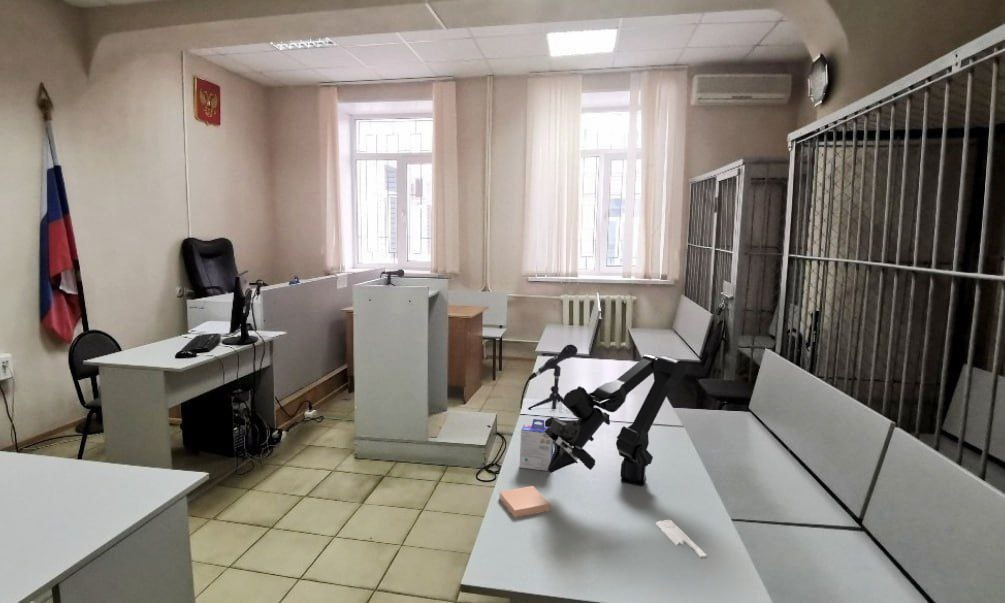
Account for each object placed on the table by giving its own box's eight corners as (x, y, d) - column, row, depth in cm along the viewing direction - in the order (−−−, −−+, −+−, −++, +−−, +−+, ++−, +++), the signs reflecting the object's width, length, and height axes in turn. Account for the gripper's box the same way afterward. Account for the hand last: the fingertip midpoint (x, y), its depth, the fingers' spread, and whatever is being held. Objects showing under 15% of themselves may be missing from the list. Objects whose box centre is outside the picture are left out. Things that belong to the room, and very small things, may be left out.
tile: (532, 485, 146) (499, 491, 142) (549, 503, 137) (514, 510, 133) (532, 494, 147) (499, 500, 143) (549, 512, 138) (514, 519, 134)
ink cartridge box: (553, 464, 165) (555, 419, 163) (551, 472, 159) (553, 426, 158) (522, 460, 167) (523, 416, 165) (519, 468, 161) (520, 422, 159)
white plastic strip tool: (686, 561, 119) (686, 556, 119) (652, 525, 133) (653, 521, 133) (706, 558, 120) (706, 553, 120) (671, 522, 134) (671, 518, 134)
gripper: (551, 398, 150) (515, 441, 147) (587, 421, 133) (547, 470, 130) (574, 421, 154) (540, 463, 152) (611, 446, 137) (573, 493, 135)
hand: (549, 471), depth 142 cm, fingers closed
